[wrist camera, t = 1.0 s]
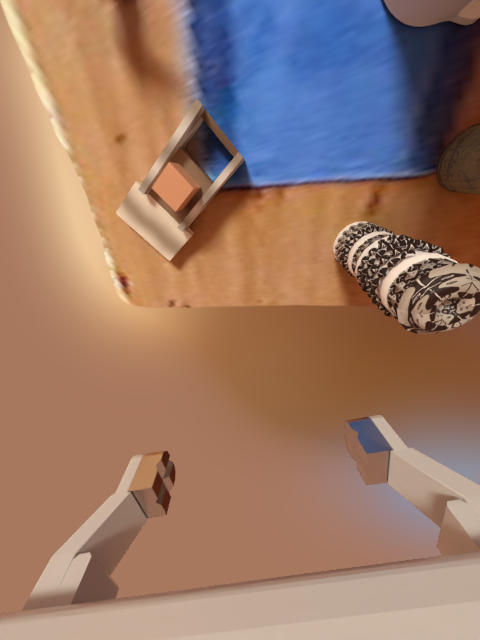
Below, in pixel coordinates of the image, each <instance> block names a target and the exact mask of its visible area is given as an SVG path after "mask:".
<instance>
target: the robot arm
mask: <svg viewBox="0 0 480 640" xmlns="http://www.w3.org/2000/svg"><path fill="white" fill-rule="evenodd" d="M384 2H385V4H386V6H387V7H388V9H389V11H390V12H391V13H392V14H393V15H394V17H396V18H397V19H398V20H399V21H401V22H402V23H404V24H407V25H410V26H416V27H423V26H429V25H433V24H436V23H440V22H443V21H452V22H455V23H458V24H462V25H470V24H472V23H474V22H475V21H476V20H478V19H479V18H480V0H384ZM344 427H345V429H346V431H347V432H346V433H345V442H346V446H347V449H348V451H349V453H350V455H351V457H352V458H353V459H354V460H356V461H357V469H358V471H359V473H360V475H361V476H362V478H363V480H364V482H365V484H366V485H369V484H378V483H386V482H388V484H389V485H390V486H391V487H393V488H394V489H395V490H396V491H397V492H399V493H400V494H401V495H402V496H403V497H404V498H406V499H407V500H408V501H409V502H410V503H412V504H413V505H414V506H415V507H416V508H418V509H419V510H420V511H421V512H422V513H423V514H425V515H426V516H427V517H428V518H429V519H431V520H432V521H433V522H434V523H435V524H437V525H438V526H439V527H440V528H441V529H440V533H439V537H438V542H437V548H438V549H439V551H440V552H441V554H442V556H437V557H429V558H421V559H413V560H406V561H398V562H390V563H383V564H375V565H368V566H360V567H352V568H345V569H337V570H329V571H322V572H314V573H307V574H299V575H292V576H284V577H276V578H268V579H262V580H253V581H246V582H238V583H230V584H222V585H215V586H207V587H200V588H192V589H185V590H177V591H169V592H162V593H154V594H146V595H139V596H132V597H124V598H117V599H116V596H117V593H118V589H119V588H118V585H117V583H116V582H115V581H114V580H113V579H112V578H111V576H110V575H111V574H112V572H113V571H114V569H115V568H116V566H117V565H118V563H119V561H120V560H121V558H122V557H123V556H124V554H125V553H126V551H127V550H128V548H129V546H130V545H131V544H132V542H133V541H134V539H135V538H136V536H137V535H138V533H139V531H140V530H141V529H142V527H143V525H144V524H145V523H146V521H147V518H152V517H157V516H163V515H167V511H168V507H169V503H170V499H171V496H170V494H169V491H170V490H171V489H172V487H173V486H174V482H175V466H174V464H173V462H171V461H170V460H169V457H170V455H169V453H168V451H162V452H154V453H147V454H140V455H134V456H133V458H132V459H131V460H130V463H129V465H128V467H127V469H126V471H125V474H124V476H123V478H122V480H121V482H120V485H119V487H118V489H117V491H116V493H115V494H113V495H111V496H110V497H109V498H108V499H107V500H106V501H105V502H104V503H103V504H102V505H101V506H100V508H98V510H97V511H96V512H95V513H94V514H93V515H92V516H91V517H90V518H89V519H88V520H87V521H86V522H85V523H84V524H83V525H82V526H81V527H80V528H79V529H78V530H77V531H76V532H75V533H74V534H73V536H71V537H70V538H69V540H67V542H66V543H65V544H64V545H63V546H62V547H61V548H60V549H59V550H58V551H57V552H56V553H55V554H54V555H53V556H52V557H51V559H50V561H49V563H48V565H47V566H46V568H45V570H44V572H43V573H42V575H41V577H40V579H39V580H38V582H37V584H36V586H35V588H34V590H33V591H32V593H31V595H30V596H29V598H28V600H27V602H26V604H25V605H24V607H23V609H22V611H17V612H10V613H3V614H0V640H480V486H479V485H477V484H475V483H474V482H472V481H470V480H469V479H467V478H465V477H463V476H461V475H460V474H458V473H456V472H454V471H452V470H451V469H449V468H447V467H445V466H444V465H442V464H440V463H438V462H437V461H435V460H433V459H431V458H429V457H428V456H426V455H424V454H422V453H421V452H419V451H417V450H415V449H413V448H408V447H407V446H406V445H405V444H404V442H403V441H402V440H401V439H400V437H399V436H398V435H397V434H396V433H395V431H394V430H393V429H392V428H391V426H390V425H389V424H388V423H387V421H386V420H385V419H384V418H383V417H382V416H381V415H376V416H370V417H363V418H358V419H352V420H347V421H345V422H344Z"/></svg>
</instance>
